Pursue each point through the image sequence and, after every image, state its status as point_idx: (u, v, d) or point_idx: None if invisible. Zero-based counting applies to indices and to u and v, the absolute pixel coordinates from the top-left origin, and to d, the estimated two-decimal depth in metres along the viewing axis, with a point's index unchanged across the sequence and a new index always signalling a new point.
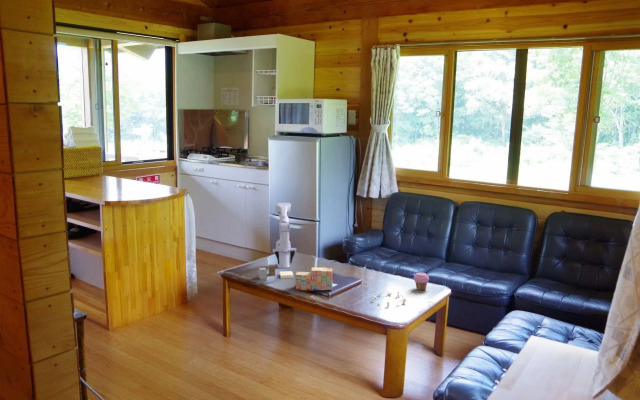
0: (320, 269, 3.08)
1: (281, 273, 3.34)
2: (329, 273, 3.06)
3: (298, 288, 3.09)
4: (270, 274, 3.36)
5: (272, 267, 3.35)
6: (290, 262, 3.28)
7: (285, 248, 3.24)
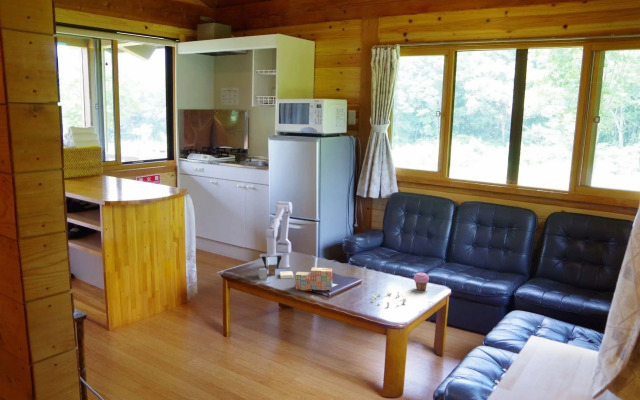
0: (320, 269, 3.08)
1: (281, 273, 3.34)
2: (328, 273, 3.05)
3: (298, 288, 3.09)
4: (270, 274, 3.36)
5: (272, 267, 3.35)
6: (277, 267, 3.37)
7: (272, 253, 3.33)
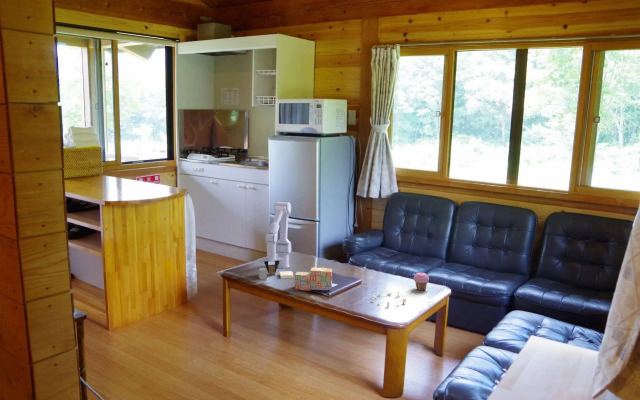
0: (319, 269, 3.08)
1: (281, 273, 3.34)
2: (328, 274, 3.05)
3: (297, 288, 3.09)
4: (270, 274, 3.36)
5: (272, 267, 3.35)
6: None
7: (272, 258, 3.33)
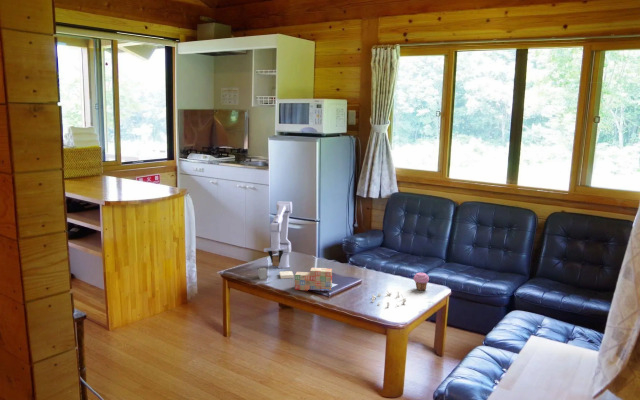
0: (319, 269, 3.08)
1: (281, 273, 3.34)
2: (328, 274, 3.05)
3: (297, 288, 3.09)
4: (274, 264, 3.33)
5: (276, 257, 3.33)
6: None
7: (276, 247, 3.31)
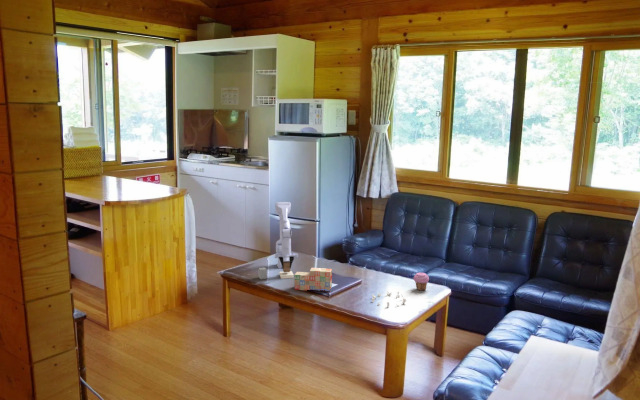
0: (319, 269, 3.07)
1: (281, 273, 3.33)
2: (327, 274, 3.04)
3: (297, 288, 3.09)
4: (285, 270, 3.31)
5: (287, 263, 3.31)
6: None
7: (287, 253, 3.29)
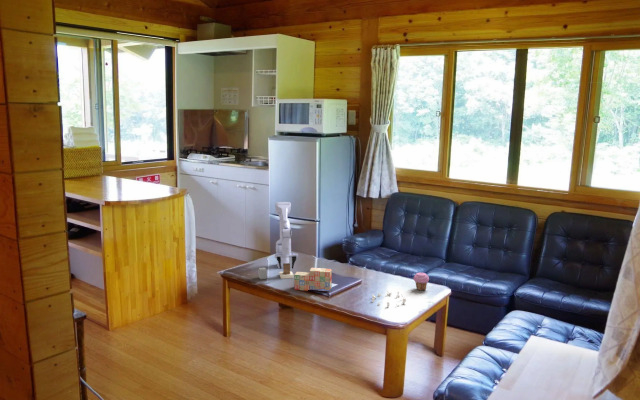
0: (319, 269, 3.07)
1: (281, 273, 3.34)
2: (327, 274, 3.04)
3: (297, 288, 3.09)
4: (285, 272, 3.32)
5: (287, 265, 3.31)
6: (292, 267, 3.33)
7: (287, 253, 3.29)
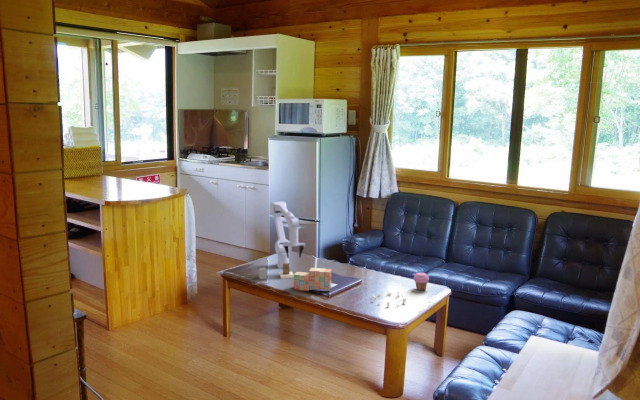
0: (318, 270, 3.07)
1: (281, 273, 3.34)
2: (326, 274, 3.04)
3: (296, 288, 3.09)
4: (284, 272, 3.32)
5: (286, 265, 3.31)
6: (299, 256, 3.39)
7: (294, 243, 3.35)
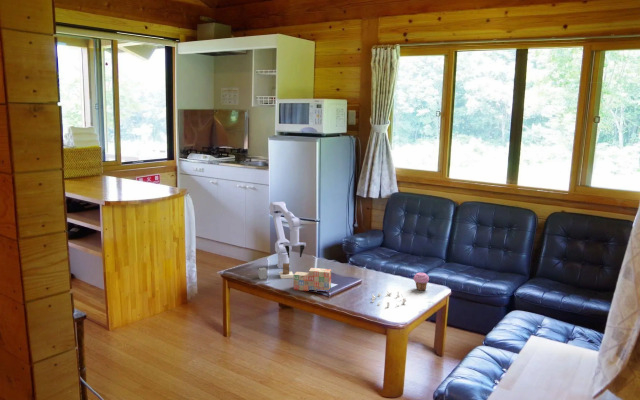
0: (318, 270, 3.07)
1: (281, 273, 3.34)
2: (326, 274, 3.04)
3: (296, 288, 3.09)
4: (284, 272, 3.32)
5: (286, 266, 3.31)
6: (300, 256, 3.40)
7: (295, 242, 3.36)
